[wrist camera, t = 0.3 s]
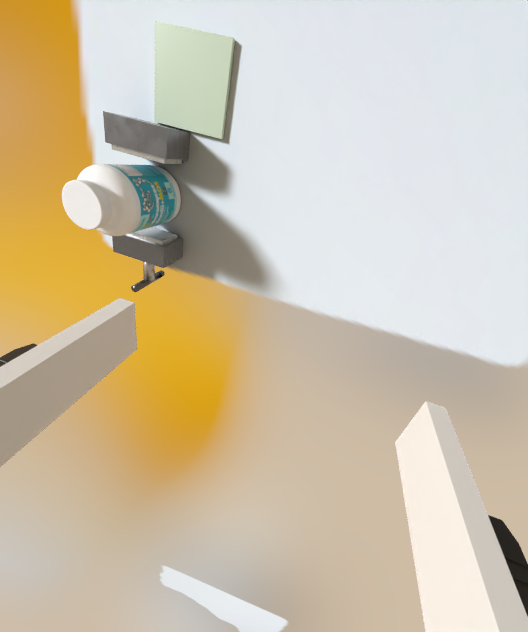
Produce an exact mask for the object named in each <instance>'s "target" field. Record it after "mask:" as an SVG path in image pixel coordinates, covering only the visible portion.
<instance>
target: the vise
mask: <svg viewBox="0 0 528 632" xmlns="http://www.w3.org/2000/svg"><path fill="white" fill-rule="evenodd" d="M103 115H104V129H105V142H107V143H110V144H112V149H113V150H117V151H120V152H124V153H128V154H131V155H135V156H138V157H142V158H145V159H149V160H153V161H156V162H160V163H163V164H182V160H188V152H189V136H190V133H189V132H185V131H181V130H178V129H174V128H170V127H166V126H162V125H159V124H155V123H151V122H147V121H143V120H140V119H136V118H132V117H127V116H123V115H118V114H113V113H109V112H104V111H103ZM112 237H113V251H114V252H117V253H120V254H123V255H126V256H129V257H132V258H135V259H138V260H141V261H143V267H144V268H143V271H144V280H142V281H140V282H139V283H137V284H135V285H133V286H132V287H131V288H132V290H133V291H134V292H137V291H139V290H140V289H142V288H144V287H145V286H147V285H149V284H150V283H152V282H154V281H155V280H157V279H159V278H161V277H162V276H164V275H165V273H164V271H162V270H161V271H159V272H157V273H155V265H156V266H159V267H162V268H164V267H166V266H168V265H170V264H172V263H173V262H175V261H177V260H179V259H181V258H182V248H183V239H181V238H178V235H176V234H173V233H170V232H167V231H163V230H160V229H157V228H154V227H150V228H146V229H143V230H140V231H136V232H133V233H129V234H126V235H122V236H112Z"/></svg>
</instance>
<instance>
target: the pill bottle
mask: <svg viewBox="0 0 528 632" xmlns="http://www.w3.org/2000/svg"><path fill="white" fill-rule="evenodd" d="M62 201H63V205H64V208H65V210H66V212H67V214H68V216H69V217H70V218H71V220H72V221H73V222H74V223H76V224H77V225H78V226H80V227H82V228H84V229H89V230H92V229H97V230H98V231H100V232H102V233H104V234H106V235H110V236H122V235H126V234H129V233H133V232H136V231H140V230H143V229H146V228H150V227H153V226H157V225H160V224H163V223H166V222H169V221H171V220H172V219H174V218H175V217H176V215H177V214H178V212H179V209H180V206H181V195H180V190H179V187H178V185H177V183H176V181H175V180H174V178H173V177H172V176H171V175H170V174H169V173H168V172H167V171H166V170H164V169H162V168H160V167H158V166H153V165H111V164H97V165H92V166H89V167H87V168H85V169H84V170H83V171H82V172H81V173H80V175H79V176H78V178H77V180H72V181H69V182H68V183H66V184H65V186H64V188H63V191H62Z"/></svg>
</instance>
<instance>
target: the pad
mask: <svg viewBox="0 0 528 632" xmlns="http://www.w3.org/2000/svg"><path fill="white" fill-rule="evenodd" d="M234 45H235V39H234V38H232V37H227V36H222V35H217V34H213V33H208V32H203V31H199V30H194V29H189V28H184V27H180V26H175V25H170V24H166V23H161V22H156V21H155V122H158V123H162V124H165V125H169V126H173V127H177V128H181V129H185V130H188V131H192V132H196V133H200V134H204V135H207V136H211V137H215V138H219V139H223V138H224V130H225V121H226V113H227V105H228V96H229V88H230V79H231V71H232V62H233V54H234Z"/></svg>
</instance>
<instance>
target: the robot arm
mask: <svg viewBox="0 0 528 632" xmlns="http://www.w3.org/2000/svg"><path fill="white" fill-rule="evenodd" d="M135 350H137V339H136V322H135V303H133V302H130V301H127V300H125V299H121V298H119V299H117V300H115V301H114V302H112V303H110V304H109V305H107V306H105V307H103V308H102V309H100V310H98V311H96V312H95V313H93V314H91V315H89V316H88V317H86V318H85V319H83V320H81V321H79V322H77V323H76V324H74V325H72V326H70V327H69V328H67V329H65V330H64V331H62V332H60V333H58V334H57V335H55V336H53V337H52V338H50V339H48V340H46V341H44V342H43V343H41V344H39V345H36V344H31V345H27V346H25V347H21V348H18V349H15V350H13V351H11V352H10V353H8V354H6V355H4V356H2V357H1V358H0V467H1V466H2V465H3V464H4V463H6V462H7V461H8V460H9V459H10V458H11V457H12V456H14V455H15V454H16V453H17V452H18V451H19V450H21V449H22V448H23V447H24V446H25V445H26V444H28V443H29V442H30V441H31V440H32V439H33V438H34V437H36V436H37V435H38V434H39V433H40V432H41V431H43V430H44V429H45V428H46V427H47V426H48V425H49V424H51V423H52V422H53V421H54V420H55V419H57V418H58V417H59V416H60V415H61V414H62V413H63V412H65V411H66V410H67V409H68V408H69V407H70V406H72V405H73V404H74V403H75V402H76V401H77V400H78V399H80V398H81V397H82V396H83V395H84V394H86V393H87V392H88V391H89V390H90V389H91V388H92V387H94V386H95V385H96V384H97V383H98V382H99V381H101V380H102V379H103V378H104V377H105V376H106V375H108V374H109V373H110V372H111V371H112V370H113V369H115V368H116V367H117V366H118V365H119V364H120V363H121V362H123V361H124V360H125V359H126V358H127V357H128V356H129V355H131V354H132V353H133V352H134V351H135ZM395 444H396V449H397V456H398V462H399V468H400V474H401V481H402V487H403V494H404V500H405V506H406V512H407V518H408V524H409V530H410V537H411V543H412V550H413V556H414V561H415V568H416V575H417V581H418V587H419V593H420V600H421V606H422V612H423V618H424V625H425V631H426V632H528V564H527V562H526V559H525V557H524V555H523V552H522V550H521V548H520V546H519V543H518V542H517V541H516V539H515V538H514V536H513V535H512V534H511V532H510V531H509V529H508V528H507V526H506V525H505V524H504V522H503V521H502V520H500V519H497V518H494V517H491V516H489V515H488V514H487V512H486V509H485V507H484V504H483V501H482V499H481V496H480V494H479V491H478V489H477V486H476V484H475V481H474V478H473V476H472V473H471V471H470V468H469V466H468V463H467V461H466V458H465V455H464V453H463V450H462V448H461V445H460V443H459V440H458V437H457V435H456V432H455V430H454V427H453V425H452V422H451V420H450V417H449V414H448V412H447V410H446V408H445V407H442V406H439V405H436V404H433V403H430V402H427V401H426V402H425V403H424V404H423V406H422V407H421V408H420V410H419V411H418V412H417V414H416V415H415V417H414V418H413V419H412V421H411V422H410V423H409V425H408V426H407V427H406V429H405V430H404V432H403V433H402V434H401V435H400V437H399V438H398V439H397V441H396V442H395Z"/></svg>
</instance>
